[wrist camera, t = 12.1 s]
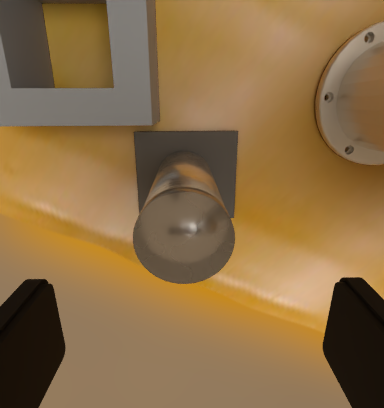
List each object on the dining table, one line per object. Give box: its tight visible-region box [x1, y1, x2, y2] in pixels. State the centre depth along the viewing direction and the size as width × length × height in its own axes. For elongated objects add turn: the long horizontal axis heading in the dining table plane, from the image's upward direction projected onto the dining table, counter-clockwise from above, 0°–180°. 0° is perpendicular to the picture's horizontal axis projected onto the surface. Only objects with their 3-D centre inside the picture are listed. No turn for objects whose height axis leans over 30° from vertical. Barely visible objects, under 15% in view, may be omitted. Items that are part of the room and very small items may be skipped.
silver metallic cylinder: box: [133, 151, 235, 284], centre depth 22 cm, size 6×6×14 cm
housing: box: [0, 0, 160, 126], centre depth 21 cm, size 12×12×7 cm
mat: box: [134, 131, 238, 218], centre depth 29 cm, size 10×9×1 cm
